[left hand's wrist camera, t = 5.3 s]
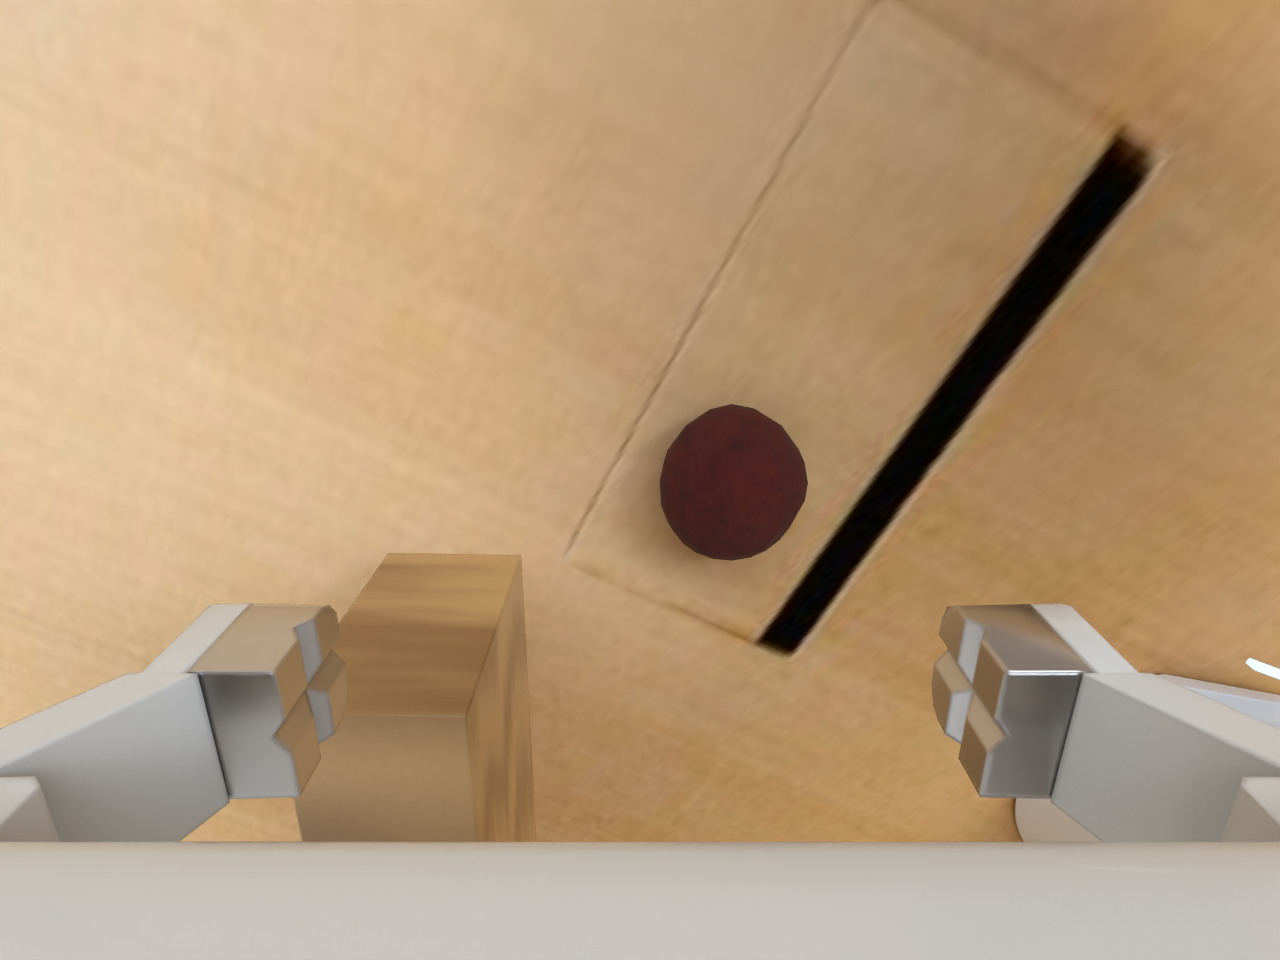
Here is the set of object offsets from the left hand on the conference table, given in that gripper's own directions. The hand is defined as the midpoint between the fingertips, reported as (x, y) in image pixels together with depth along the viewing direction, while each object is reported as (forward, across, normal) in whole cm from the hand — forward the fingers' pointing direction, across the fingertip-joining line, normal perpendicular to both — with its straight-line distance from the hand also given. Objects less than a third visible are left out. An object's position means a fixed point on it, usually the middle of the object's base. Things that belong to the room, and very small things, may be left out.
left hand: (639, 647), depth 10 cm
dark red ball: (+31, +5, -8) cm, 32 cm away
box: (+22, -8, -22) cm, 32 cm away
